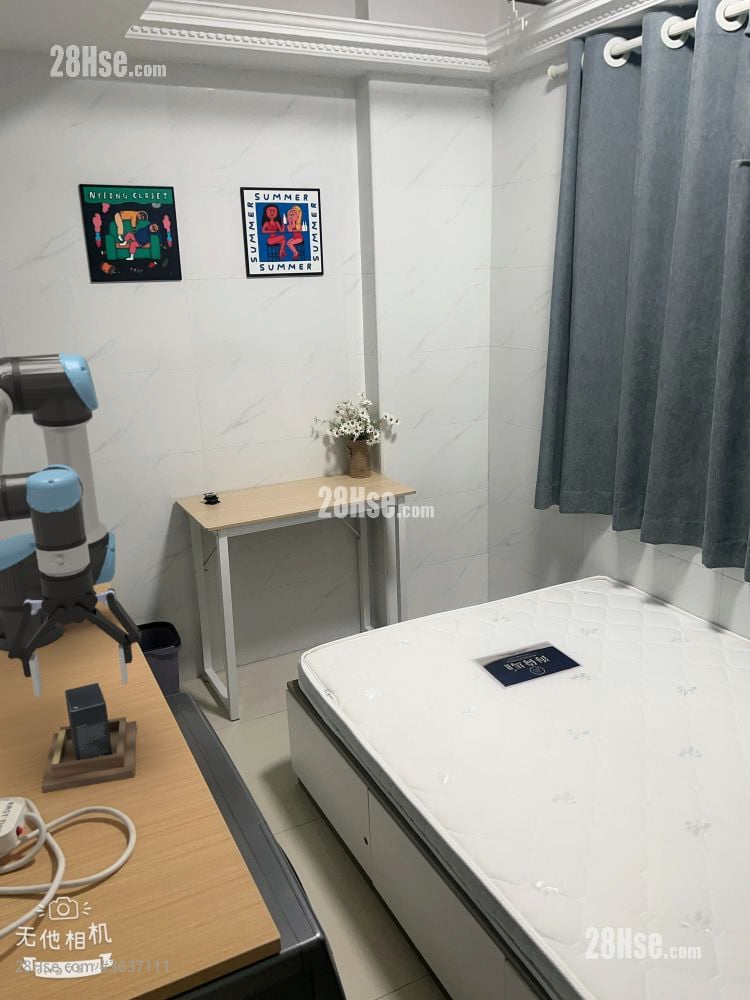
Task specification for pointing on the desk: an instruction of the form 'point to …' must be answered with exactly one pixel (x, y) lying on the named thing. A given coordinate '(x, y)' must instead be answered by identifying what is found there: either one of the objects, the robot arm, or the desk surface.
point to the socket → (90, 759)
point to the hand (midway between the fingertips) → (82, 686)
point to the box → (88, 722)
